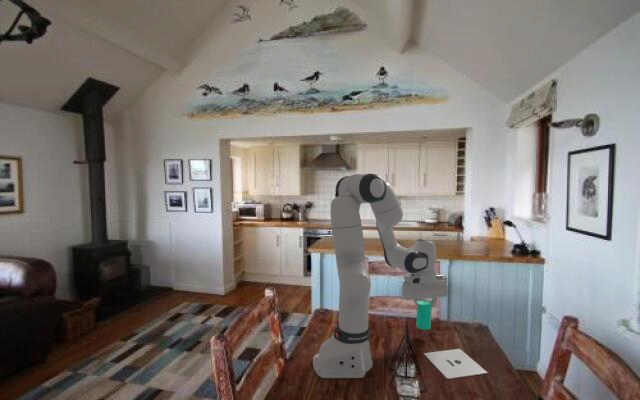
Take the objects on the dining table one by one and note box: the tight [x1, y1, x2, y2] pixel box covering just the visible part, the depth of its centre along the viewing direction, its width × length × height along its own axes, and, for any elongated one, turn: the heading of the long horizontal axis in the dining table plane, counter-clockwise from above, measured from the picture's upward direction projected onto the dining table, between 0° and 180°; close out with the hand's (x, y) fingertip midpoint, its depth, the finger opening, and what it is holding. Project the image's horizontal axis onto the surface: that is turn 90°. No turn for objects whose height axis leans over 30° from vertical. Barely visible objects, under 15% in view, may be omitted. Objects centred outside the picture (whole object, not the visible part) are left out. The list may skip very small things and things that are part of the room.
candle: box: [415, 300, 433, 331], centre depth 137 cm, size 6×6×12 cm
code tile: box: [423, 348, 489, 380], centre depth 119 cm, size 16×16×1 cm
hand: (424, 307), depth 137 cm, fingers closed on candle, 5 cm apart
